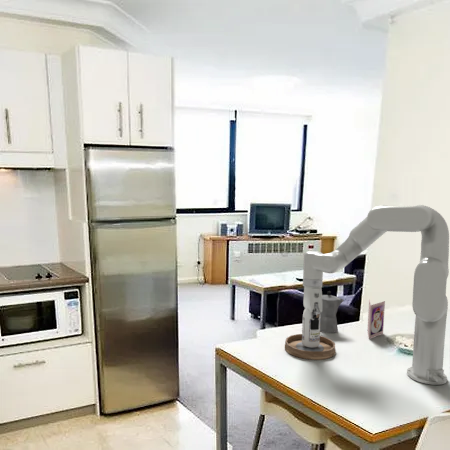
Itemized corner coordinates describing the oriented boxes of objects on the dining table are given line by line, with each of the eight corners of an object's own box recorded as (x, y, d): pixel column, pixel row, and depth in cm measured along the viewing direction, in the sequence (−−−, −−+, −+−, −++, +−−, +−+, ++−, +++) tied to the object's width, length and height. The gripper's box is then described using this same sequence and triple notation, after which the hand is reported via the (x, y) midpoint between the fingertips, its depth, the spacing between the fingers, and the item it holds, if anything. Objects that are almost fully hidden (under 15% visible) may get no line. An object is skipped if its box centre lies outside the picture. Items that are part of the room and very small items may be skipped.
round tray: (343, 359, 160) (344, 351, 160) (292, 360, 158) (292, 353, 157) (324, 339, 180) (325, 333, 180) (279, 341, 177) (279, 334, 177)
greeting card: (370, 339, 181) (372, 305, 180) (355, 334, 187) (357, 301, 185) (384, 334, 188) (386, 301, 187) (369, 329, 194) (371, 297, 193)
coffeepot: (343, 328, 195) (345, 290, 193) (340, 335, 186) (342, 295, 184) (310, 323, 201) (312, 286, 199) (306, 329, 192) (307, 291, 190)
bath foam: (322, 344, 169) (324, 295, 167) (313, 349, 163) (315, 299, 162) (307, 340, 173) (309, 292, 171) (298, 344, 168) (300, 295, 166)
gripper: (329, 287, 158) (328, 333, 160) (314, 277, 175) (313, 319, 177) (310, 287, 157) (309, 334, 159) (297, 277, 174) (295, 319, 176)
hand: (311, 325), depth 168 cm, fingers open, 7 cm apart
